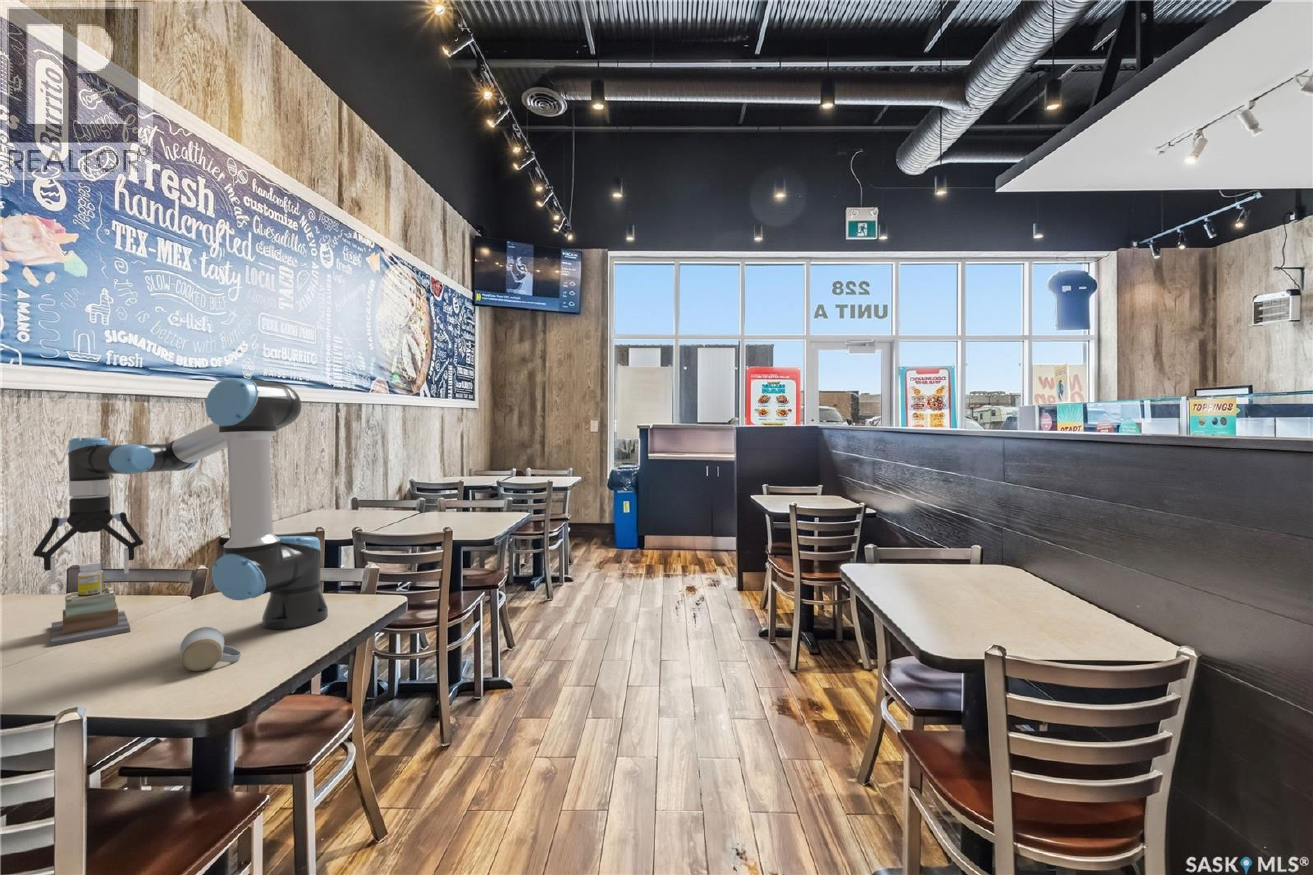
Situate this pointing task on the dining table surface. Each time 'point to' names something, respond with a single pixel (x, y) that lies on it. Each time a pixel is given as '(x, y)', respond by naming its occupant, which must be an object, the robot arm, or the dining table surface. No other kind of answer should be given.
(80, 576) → the supplement bottle
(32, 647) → the dining table surface
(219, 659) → the ceramic mug
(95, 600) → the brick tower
